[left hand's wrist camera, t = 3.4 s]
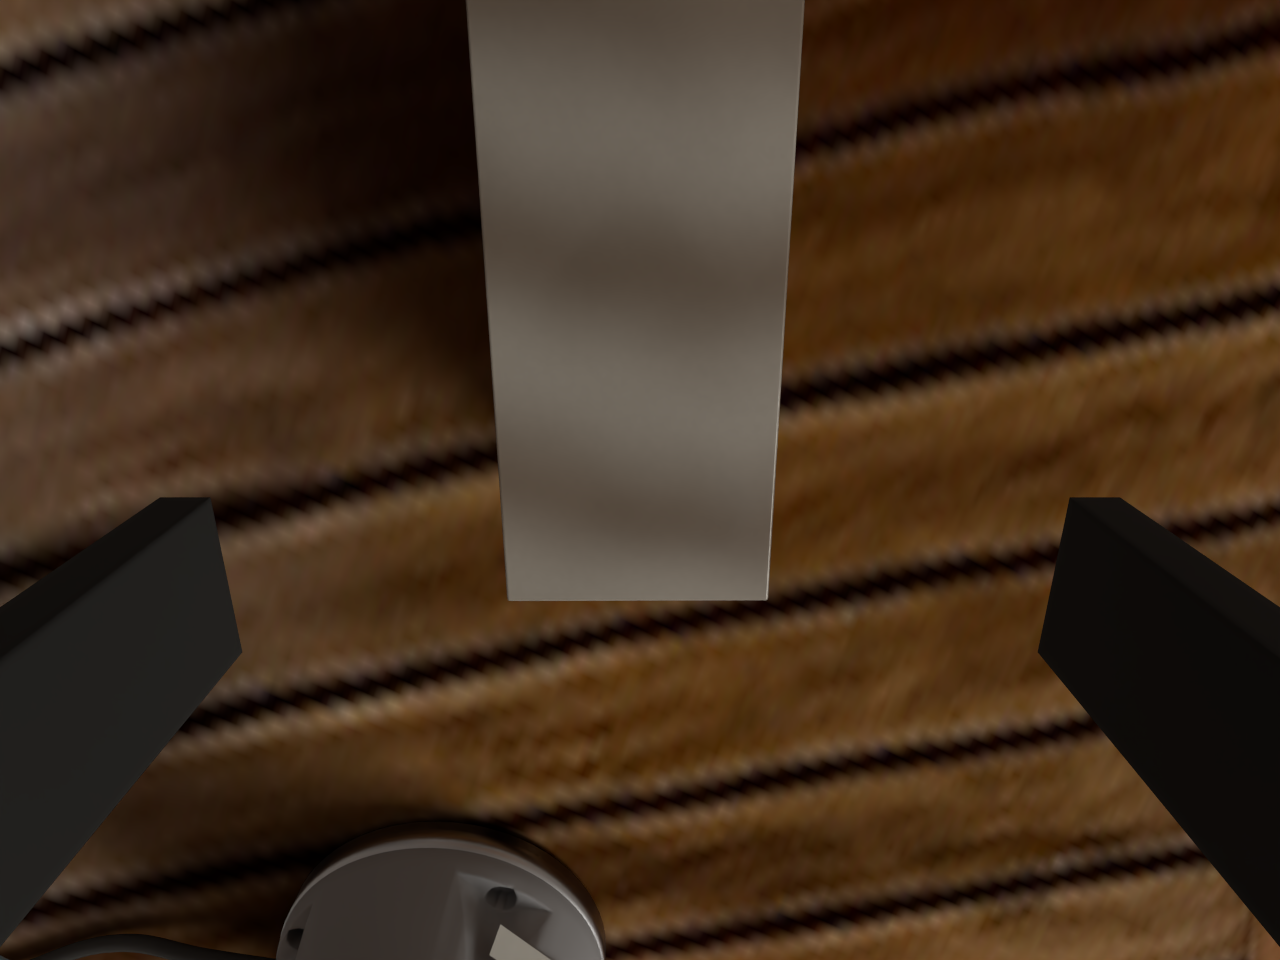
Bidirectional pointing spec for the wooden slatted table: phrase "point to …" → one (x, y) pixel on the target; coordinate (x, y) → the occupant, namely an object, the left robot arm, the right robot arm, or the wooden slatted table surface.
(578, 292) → the cabinet
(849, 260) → the wooden slatted table surface
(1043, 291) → the wooden slatted table surface
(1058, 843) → the wooden slatted table surface
